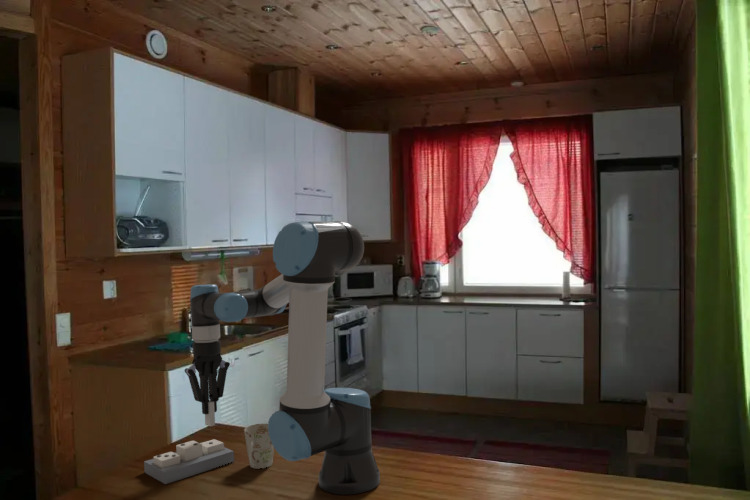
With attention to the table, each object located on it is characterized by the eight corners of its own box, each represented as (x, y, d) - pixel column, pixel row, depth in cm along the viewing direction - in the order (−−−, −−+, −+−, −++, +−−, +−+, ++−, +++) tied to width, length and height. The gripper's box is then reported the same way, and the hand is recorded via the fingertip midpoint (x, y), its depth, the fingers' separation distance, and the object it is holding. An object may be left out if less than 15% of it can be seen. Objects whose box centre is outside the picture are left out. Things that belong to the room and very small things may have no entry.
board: (234, 461, 168) (233, 451, 168) (165, 484, 154) (164, 472, 154) (211, 452, 177) (211, 441, 177) (144, 472, 163) (144, 461, 163)
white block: (224, 456, 170) (223, 442, 170) (208, 461, 166) (207, 446, 166) (214, 452, 174) (214, 438, 173) (198, 457, 170) (198, 443, 170)
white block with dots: (180, 470, 161) (180, 454, 161) (162, 475, 157) (161, 460, 157) (171, 465, 164) (171, 450, 164) (153, 470, 161) (153, 455, 161)
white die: (202, 458, 165) (202, 443, 165) (185, 463, 162) (185, 448, 162) (193, 454, 169) (193, 439, 169) (176, 459, 165) (176, 444, 165)
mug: (280, 459, 169) (278, 423, 169) (267, 477, 157) (266, 438, 156) (250, 459, 170) (249, 423, 170) (236, 476, 157) (234, 438, 157)
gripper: (220, 335, 177) (223, 417, 177) (178, 342, 167) (181, 428, 168) (234, 338, 171) (237, 421, 172) (191, 345, 162) (195, 433, 162)
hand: (210, 424), depth 170 cm, fingers closed
